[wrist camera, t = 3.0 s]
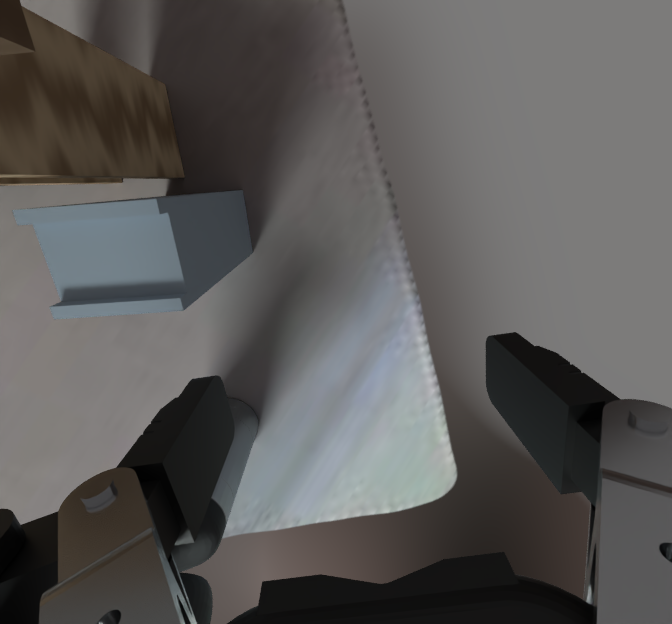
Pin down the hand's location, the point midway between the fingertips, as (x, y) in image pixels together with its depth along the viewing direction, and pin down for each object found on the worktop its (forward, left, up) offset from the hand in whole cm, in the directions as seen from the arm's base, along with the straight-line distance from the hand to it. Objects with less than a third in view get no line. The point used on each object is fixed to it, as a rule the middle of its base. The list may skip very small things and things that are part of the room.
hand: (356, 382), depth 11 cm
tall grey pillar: (+1, +17, -37) cm, 41 cm away
